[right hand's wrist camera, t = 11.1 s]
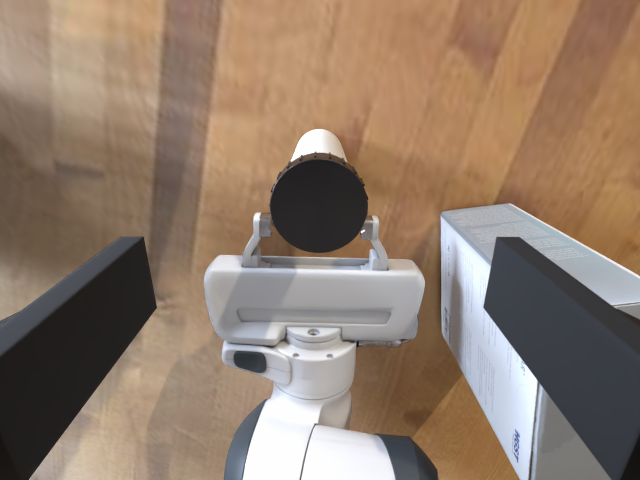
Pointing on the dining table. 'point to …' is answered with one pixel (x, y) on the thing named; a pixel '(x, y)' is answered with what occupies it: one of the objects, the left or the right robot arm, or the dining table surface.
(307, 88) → the dining table surface
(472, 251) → the hard drive box
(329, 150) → the white tube
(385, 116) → the dining table surface
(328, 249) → the lid
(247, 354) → the left robot arm
